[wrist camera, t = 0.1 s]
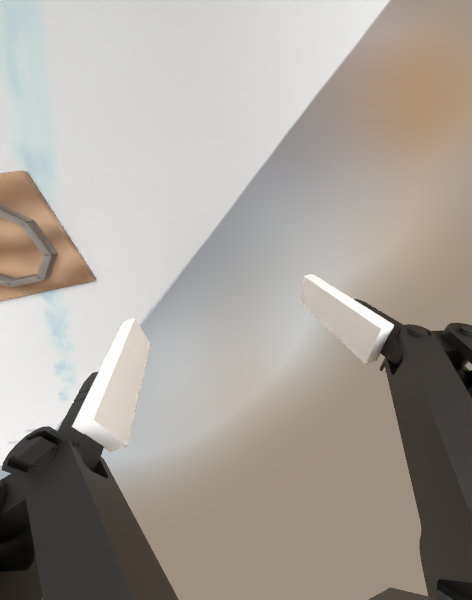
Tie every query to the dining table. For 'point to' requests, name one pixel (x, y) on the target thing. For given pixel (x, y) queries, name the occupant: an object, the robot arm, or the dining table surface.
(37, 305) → the dining table surface
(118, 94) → the dining table surface
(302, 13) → the dining table surface
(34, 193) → the ring holder
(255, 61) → the dining table surface
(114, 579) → the robot arm
